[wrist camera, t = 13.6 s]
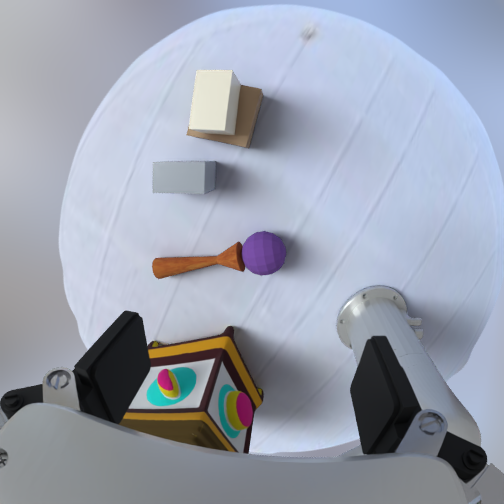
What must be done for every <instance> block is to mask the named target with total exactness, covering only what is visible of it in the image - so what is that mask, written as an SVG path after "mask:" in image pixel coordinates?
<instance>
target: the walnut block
mask: <svg viewBox="0 0 504 504" xmlns="http://www.w3.org/2000/svg"><path fill="white" fill-rule="evenodd" d="M262 98H263V93H262V89H259V88H254V87H249V86H244V85H241V87H240V94H239V102H238V110H237V119H236V127H235V135H223V134H206V133H201V132H198V131H194V130H191V129H189V127H188V131H187V135H189V136H193V137H198V138H203V139H208V140H213V141H218V142H223V143H228V144H232V145H237V146H241V147H245V148H249V147H250V143H251V139H252V135H253V131H254V128H255V124H256V120H257V117H258V113H259V109H260V106H261V102H262Z"/></svg>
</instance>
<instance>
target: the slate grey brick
mask: <svg viewBox="0 0 504 504" xmlns="http://www.w3.org/2000/svg"><path fill="white" fill-rule="evenodd" d="M215 181H216V161H166V162H153V193H184V194H206V193H208V192H210V191H212V190H214V189H215Z"/></svg>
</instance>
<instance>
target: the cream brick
mask: <svg viewBox="0 0 504 504" xmlns="http://www.w3.org/2000/svg"><path fill="white" fill-rule="evenodd" d="M240 87H241V84H240V82H239V80H238V79H237V77H236V75H235V74H234V72H233V70H197V71H196V78H195V84H194V91H193V98H192V106H191V114H190V122H189V129H191V130H194V131H198V132H201V133H206V134H223V135H235V127H236V119H237V110H238V102H239V94H240Z"/></svg>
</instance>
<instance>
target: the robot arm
mask: <svg viewBox="0 0 504 504" xmlns="http://www.w3.org/2000/svg"><path fill="white" fill-rule="evenodd" d="M421 323H422V320H421V318H410V317H409V316H408V314H407V307H406V303H405V301H404V299H403V298H402V296H401V295H400V294H399V293H398V292H397V291H396V290H394V289H392V288H389V287H386V286H373V287H368V288H365V289H363V290H361V291H359V292H357V293H356V294H354V295H353V296H351V297H350V298H349V299H348V300H347V301H346V302H345V304H344V305H343V306H342V308H341V310H340V312H339V314H338V318H337V325H336V326H337V332H338V335H339V338H340V340H341V341H342V343H343V344H344V345H345V346H347V347H348V348H350V349H352V350H353V352H354V356H355V359H356V362H357V365H358V367H357V370H356V373H355V376H354V378H353V381H352V384H351V388H350V393H351V397H352V402H353V407H354V411H355V416H356V421H357V426H358V431H359V436H360V442H361V445H359V446H357V447H355V448H353V449H351V450H349V451H347V452H345V453H343V454H341V455H339V456H337V457H281V456H266V455H255V454H245V453H237V452H229V451H223V450H216V449H210V448H205V447H200V446H194V445H190V444H185V443H181V442H176V441H172V440H168V439H164V438H160V437H156V436H153V435H149V434H146V433H143V432H139V431H136V430H133V429H130V428H127V427H124V426H121V425H118V424H119V423H120V422H121V420H122V419H123V417H124V415H125V413H126V412H127V410H128V408H129V406H130V405H131V403H132V401H133V399H134V398H135V396H136V394H137V392H138V391H139V389H140V387H141V385H142V384H143V382H144V380H145V378H146V377H147V375H148V373H149V372H150V369H151V362H150V357H149V352H148V347H147V342H146V336H145V331H144V325H143V319H142V317H140V316H139V314H138V313H136V312H131V311H124V312H123V313H122V314H121V315H120V316H119V317H118V318H117V319H116V320H115V322H114V323H113V324H112V325H111V326H110V327H109V328H108V329H107V330H106V331H105V332H104V333H103V335H102V336H101V337H100V338H99V339H98V340H97V341H96V342H95V343H94V344H93V346H92V347H91V348H90V349H89V350H88V351H87V352H86V353H85V355H84V356H83V357H82V358H81V359H80V360H79V362H77V364H76V365H75V366H74V367H75V369H74V370H73V371H71V370H70V369H68V368H64V367H58V368H54V369H52V370H50V371H48V372H47V373H46V374H45V376H44V378H43V384H40V385H36V386H31V387H26V388H21V389H16V390H11V391H9V392H7V393H6V394H4V396H3V397H2V399H1V401H0V504H504V474H503V473H502V472H501V471H500V470H499V469H497V468H496V467H495V466H494V465H493V464H492V463H491V464H490V465H487V455H486V453H485V451H484V450H483V449H482V448H481V447H480V446H481V434H480V431H479V428H478V426H477V423H476V422H475V420H474V419H473V417H472V416H471V415H470V413H469V412H468V411H467V410H466V408H465V407H464V406H463V405H462V404H461V402H460V401H459V400H458V399H457V397H456V396H455V395H454V393H453V392H452V391H451V389H450V388H449V387H448V385H447V384H446V382H445V381H444V379H443V377H442V376H441V374H440V373H439V371H438V370H437V368H436V366H435V365H434V363H433V361H432V360H431V358H430V357H429V355H428V353H427V352H426V350H425V348H424V347H423V345H422V344H421V342H420V340H419V339H422V337H423V330H422V329H412V328H411V326H420V325H421Z"/></svg>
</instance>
